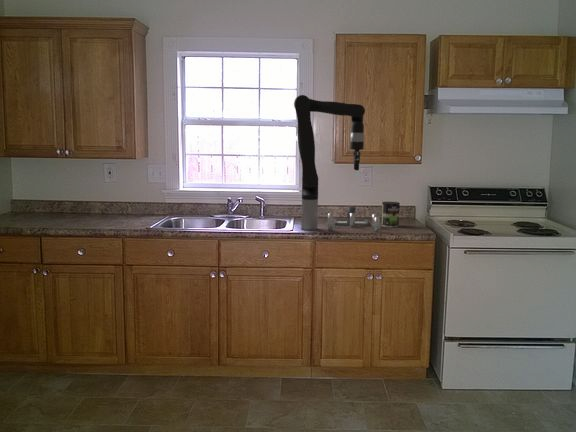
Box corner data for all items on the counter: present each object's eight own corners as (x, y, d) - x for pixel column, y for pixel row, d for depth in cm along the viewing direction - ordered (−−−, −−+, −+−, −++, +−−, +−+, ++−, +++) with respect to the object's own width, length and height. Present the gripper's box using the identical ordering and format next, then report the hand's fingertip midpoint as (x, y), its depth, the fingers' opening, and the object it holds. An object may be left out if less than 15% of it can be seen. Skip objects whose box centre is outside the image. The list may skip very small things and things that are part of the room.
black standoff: (347, 223, 332) (347, 207, 331) (346, 222, 337) (346, 206, 336) (355, 223, 332) (355, 207, 331) (354, 222, 337) (354, 206, 336)
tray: (335, 225, 327) (335, 222, 326) (334, 220, 344) (334, 218, 344) (368, 226, 325) (368, 223, 325) (366, 221, 343) (366, 219, 343)
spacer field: (327, 231, 308) (328, 217, 306) (327, 225, 325) (327, 212, 324) (379, 232, 306) (380, 217, 305) (376, 226, 324) (377, 213, 322)
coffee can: (401, 227, 324) (402, 203, 322) (385, 227, 322) (386, 203, 319) (394, 224, 334) (395, 201, 332) (378, 224, 331) (379, 201, 329)
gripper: (349, 140, 315) (349, 169, 317) (351, 141, 301) (350, 170, 303) (362, 140, 315) (362, 169, 317) (364, 141, 300) (364, 170, 303)
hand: (356, 169), depth 310 cm, fingers open, 8 cm apart
